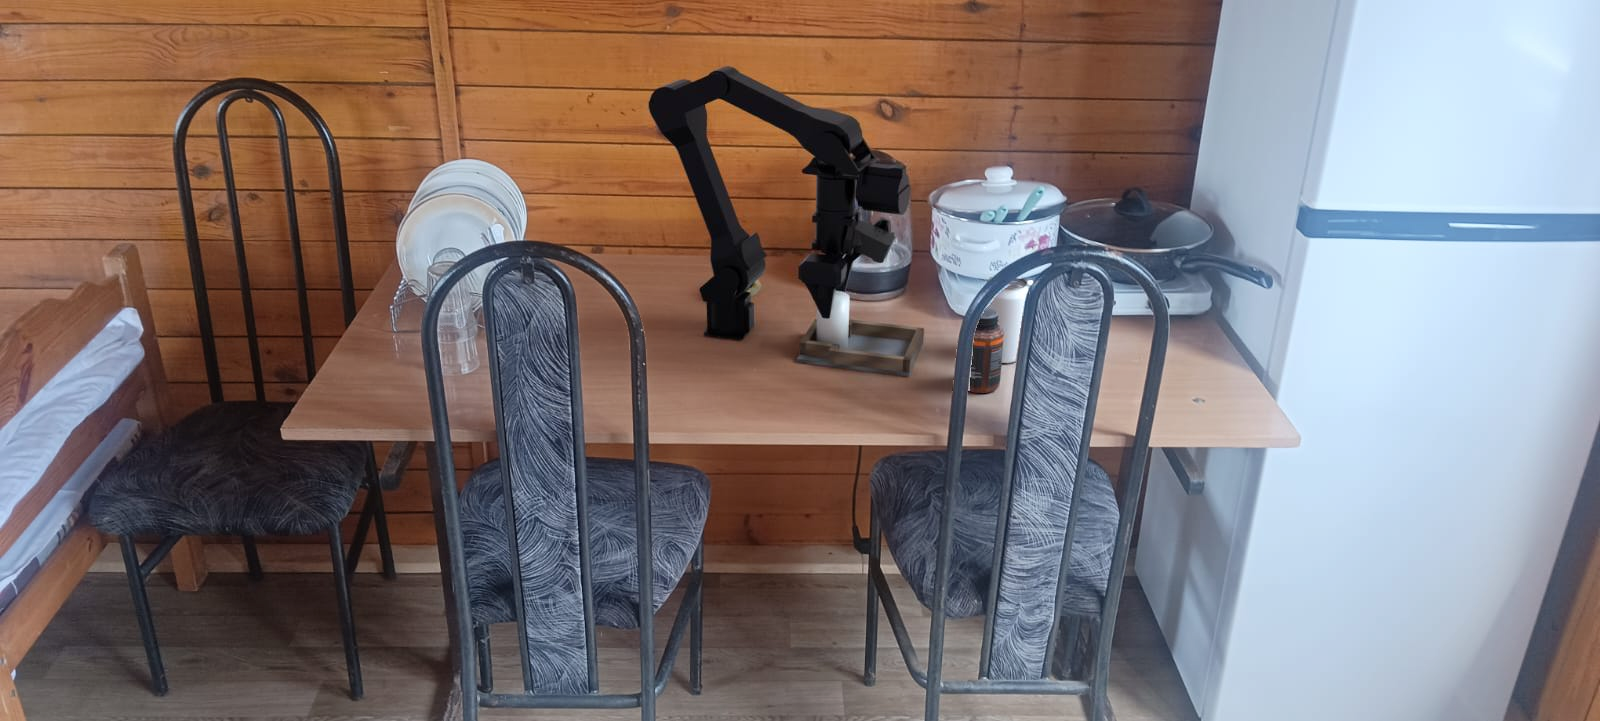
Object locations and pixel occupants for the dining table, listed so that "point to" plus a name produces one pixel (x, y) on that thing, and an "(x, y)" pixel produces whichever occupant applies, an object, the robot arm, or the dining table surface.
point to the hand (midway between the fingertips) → (833, 306)
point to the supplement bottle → (987, 353)
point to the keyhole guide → (866, 348)
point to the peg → (835, 322)
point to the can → (1010, 316)
